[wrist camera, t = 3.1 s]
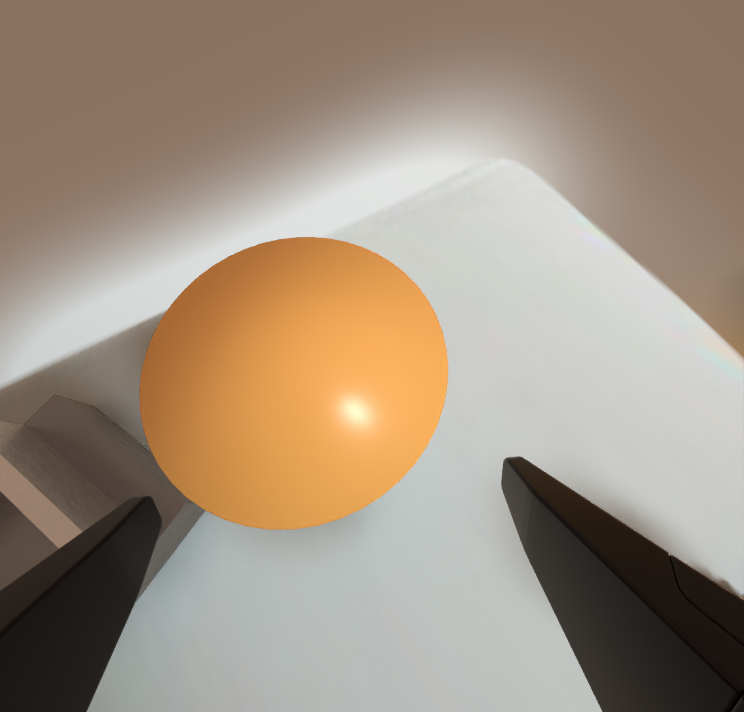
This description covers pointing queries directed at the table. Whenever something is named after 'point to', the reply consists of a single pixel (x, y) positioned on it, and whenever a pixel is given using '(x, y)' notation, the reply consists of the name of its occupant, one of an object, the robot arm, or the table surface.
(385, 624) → the table surface
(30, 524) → the grey stepped open box
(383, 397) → the orange lidded white canister
